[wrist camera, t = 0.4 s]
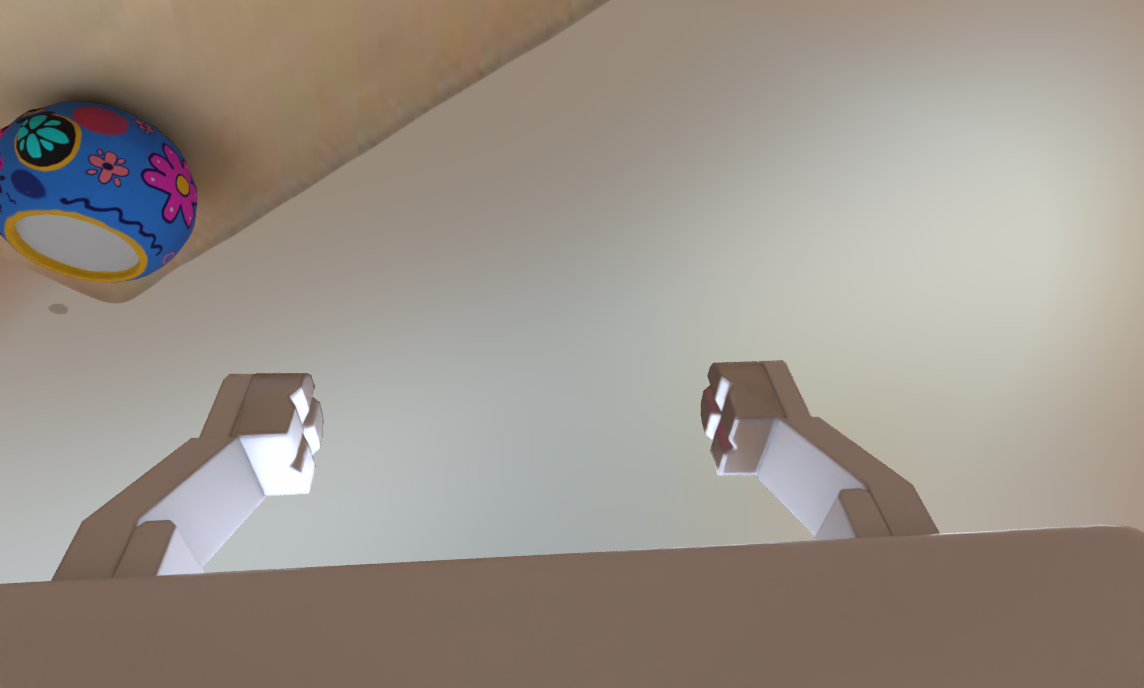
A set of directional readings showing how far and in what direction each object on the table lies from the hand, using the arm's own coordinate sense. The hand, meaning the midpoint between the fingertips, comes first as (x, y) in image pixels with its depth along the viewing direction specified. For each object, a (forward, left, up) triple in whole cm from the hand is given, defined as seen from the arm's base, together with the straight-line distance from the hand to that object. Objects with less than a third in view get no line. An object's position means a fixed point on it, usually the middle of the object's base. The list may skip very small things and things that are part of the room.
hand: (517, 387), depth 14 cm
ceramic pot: (+59, -4, -51) cm, 78 cm away
